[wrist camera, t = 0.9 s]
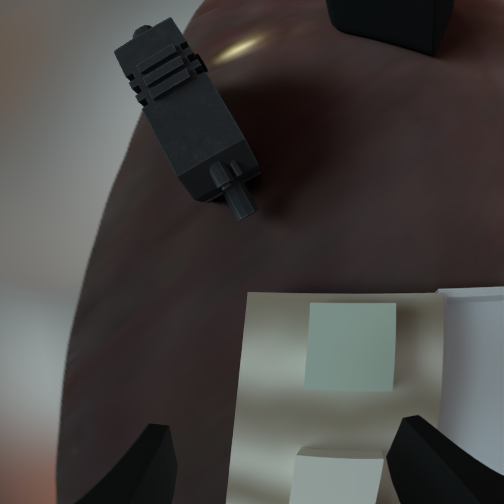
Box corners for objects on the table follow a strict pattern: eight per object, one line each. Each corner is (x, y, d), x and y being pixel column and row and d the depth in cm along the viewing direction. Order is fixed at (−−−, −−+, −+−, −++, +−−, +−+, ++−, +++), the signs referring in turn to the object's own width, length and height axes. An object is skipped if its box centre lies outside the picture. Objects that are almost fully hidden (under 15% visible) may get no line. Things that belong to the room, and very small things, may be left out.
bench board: (408, 507, 16) (416, 525, 13) (241, 496, 20) (225, 511, 17) (430, 303, 21) (442, 292, 18) (261, 302, 25) (247, 292, 22)
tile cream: (367, 516, 14) (368, 529, 12) (291, 512, 15) (285, 524, 14) (381, 450, 16) (384, 458, 14) (301, 447, 17) (296, 455, 15)
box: (533, 487, 12) (546, 494, 10) (407, 512, 16) (412, 525, 13) (550, 291, 18) (564, 282, 15) (430, 296, 21) (438, 288, 19)
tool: (200, 67, 34) (164, -3, 19) (278, 203, 35) (283, 193, 20) (157, 92, 35) (100, 36, 20) (229, 229, 36) (200, 238, 21)
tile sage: (388, 389, 17) (392, 391, 15) (307, 387, 18) (303, 389, 17) (391, 309, 19) (396, 302, 17) (313, 308, 20) (310, 302, 18)
